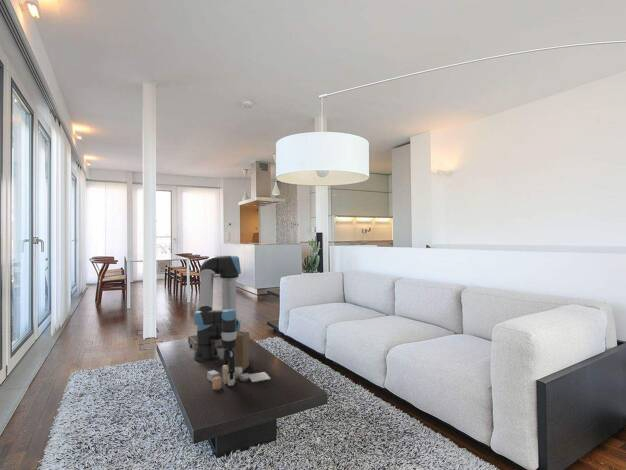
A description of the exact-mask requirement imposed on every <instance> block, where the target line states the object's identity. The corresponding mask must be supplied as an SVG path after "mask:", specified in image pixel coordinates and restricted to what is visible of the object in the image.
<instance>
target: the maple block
mask: <svg viewBox="0 0 626 470" xmlns="http://www.w3.org/2000/svg"><path fill="white" fill-rule="evenodd" d="M221 371H222V383H223V384H224V385H228V373H227V372H229V369H228V365H224V364H223V365H222V370H221ZM235 383H236V378H235V372H234V384H235Z"/></svg>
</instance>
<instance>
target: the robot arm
mask: <svg viewBox="0 0 626 470" xmlns="http://www.w3.org/2000/svg"><path fill="white" fill-rule="evenodd" d="M240 264H241V261H240V257H239V256H237V255H213V256H210V257H208V258H206V259H205V260H204V261H203V262H202V264H201V265H200V268H199V271H198V276H199V278H200V280H199V282H200V283H199V296H198V297H199V298H198V310H197V311H194V314H193V323H194V326H197V327H196V335H197V347H196V350H194V354H193V359H194V360H195V361H198V362H209V361H210V362H211V361H212V360H216V359H218V358H219V355H220V354H219V350H218V347H217V346H216V340H222V347H221V348H222V349H223V358H222V363H223V365H228V369H229V372H227V373H228V384H227V386H228V387H229V386H234V385H235V383H234V372H235V366H234V352H233V350H232V348H233V347H235V346H236V331H238V332H241V331H240V330H241V320H239V317H238V316H237V280H238V278H239V277H240V276H239V275H241V274H242V271H241V265H240ZM216 275H219V278H220V279H221V280H222V281H221V282H222V283H221V285H222V286H221V287H222V291H221V292H222V294H221V295H222V296H221V298H222V299H221V300H222V301H221V302H222V303H221V305H222V306H221V310H217V309H216V310H213V308H214V307H213V306H214V305H213V304H214V303H213V302H214V279H215V277H216Z"/></svg>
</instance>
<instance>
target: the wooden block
mask: <svg viewBox="0 0 626 470" xmlns="http://www.w3.org/2000/svg"><path fill="white" fill-rule="evenodd" d="M232 350H233V352H234V366H235V367H242V372H244V371H245V370H246V369H248V367H249V366H250V332H249V331H240V332H238V331H236V346H235V347H233V348H232Z"/></svg>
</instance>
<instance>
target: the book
mask: <svg viewBox="0 0 626 470" xmlns="http://www.w3.org/2000/svg"><path fill="white" fill-rule="evenodd" d="M187 342H189V343H190V344H191V345H192V347H191V348H192V349H193V351H195V350H196V347H197V334H195V335H188V338H187ZM189 343H188V344H189ZM190 344H189V345H190ZM191 345H190V346H191ZM216 346H217V348H223V347H222V340H216Z"/></svg>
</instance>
